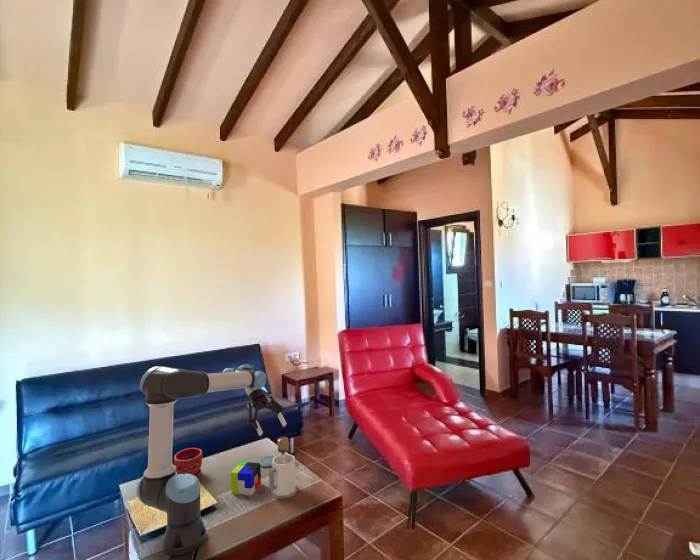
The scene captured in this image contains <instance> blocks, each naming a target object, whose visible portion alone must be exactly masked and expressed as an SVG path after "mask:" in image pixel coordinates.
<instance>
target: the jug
mask: <svg viewBox="0 0 700 560" xmlns="http://www.w3.org/2000/svg"><path fill="white" fill-rule="evenodd" d="M296 478H297V477H296V457H295V456H294V455H292V454H291V453H285V464H282V454H281V455H278V454H277V455H276V456H274V458H273V461H272V467H270V468H269V469H268V479H269V481H268V482H269V483H268V484H269V490H270V493H271V496H272V497H273V498H274V497H275V498H274V499H277V500H286V499H291V498H293V497H294V496H296V494H297V493H298V489H299V487H298V485H297V481H296V480H297V479H296Z"/></svg>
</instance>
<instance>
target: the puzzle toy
mask: <svg viewBox="0 0 700 560" xmlns="http://www.w3.org/2000/svg"><path fill="white" fill-rule="evenodd" d="M261 467H262V466H260V463H259V462H258V463H256V462H251V461H250V462H249V461H241V462H240V463H238V465H237V466H235V468H234V469H233V470H232V471H231V472H230V482H231V483H230V487H231V488H230V489H231V494H232V493H233V494H232V495H239V494H244V495H243V496H250V495H252V494H253V495H254V493H255V492H256V491H257V490H258V488H259V487H260V486H261V484H262V471H261V469H262V468H261ZM256 489H257V490H256ZM253 495H252V496H253Z"/></svg>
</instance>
